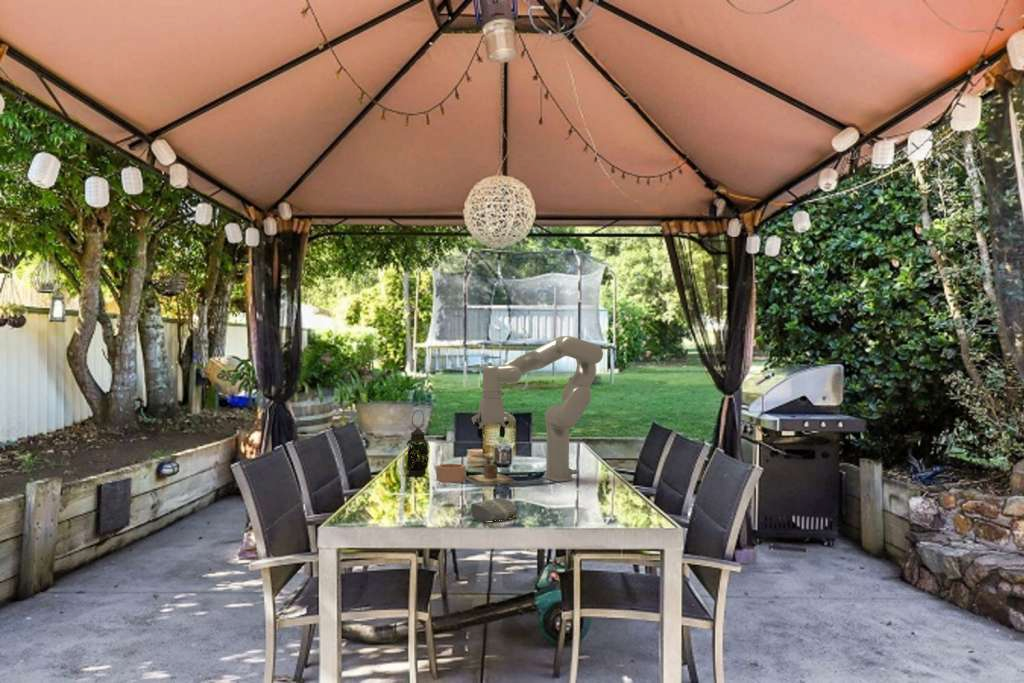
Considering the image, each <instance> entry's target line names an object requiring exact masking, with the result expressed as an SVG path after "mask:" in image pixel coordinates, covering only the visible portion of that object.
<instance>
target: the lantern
mask: <svg viewBox="0 0 1024 683" xmlns="http://www.w3.org/2000/svg"><path fill="white" fill-rule="evenodd" d="M416 412H421V414H422V415H423V416H422V417H423V418H422V419H423V420H422V424H421V425H420V426H415V425H414V424H415V423H414V421H413V417H414V415H415V414H416ZM424 421H425V415H424V412H423V411H422V410H420V409H417V410H415V411H414V412H413V414H412V416H411V423H412V425H413V427H414V428H415V430H413V431H412V432H410V435H411V436H410V438H409V439H408V440H407V442H406V445H407V447H408V448H407V455H406V456H407V460H406V470H407V471H408V476H409V477H413V478H416V477H417V478H421V477H425V475H427V471H426V470H427V467H428V465H429V464H428V463H429V459H430V458H429V456H428V455H429V450H428V443H427V442H428V440H427V439H426V438H425V435H426V433H425V432H424V431H422V430H421V429H420V427H422V426H423V424H424V423H425V422H424Z"/></svg>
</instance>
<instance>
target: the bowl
mask: <svg viewBox="0 0 1024 683" xmlns="http://www.w3.org/2000/svg"><path fill="white" fill-rule="evenodd" d="M466 468H467V466H466V465H464V464H462V463H444V464H443V463H441V464H438V465H436V475H435V476H436V481H438V482H441V483H461V482H464V481H466V477H467V475H466V474H467V473H466V472H467V471H466V470H467V469H466Z"/></svg>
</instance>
